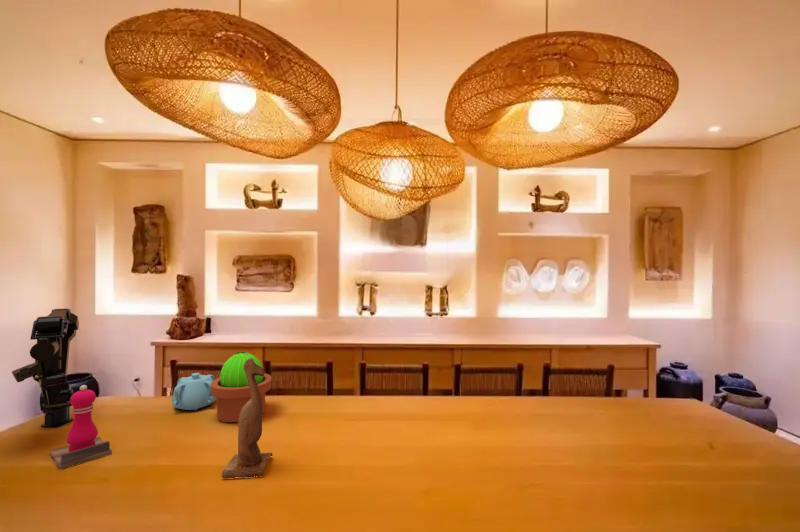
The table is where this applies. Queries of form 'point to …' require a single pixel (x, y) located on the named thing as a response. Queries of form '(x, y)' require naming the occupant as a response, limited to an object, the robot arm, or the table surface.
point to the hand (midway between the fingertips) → (48, 401)
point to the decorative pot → (193, 392)
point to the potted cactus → (236, 387)
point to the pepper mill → (82, 420)
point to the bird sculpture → (249, 431)
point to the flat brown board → (80, 453)
